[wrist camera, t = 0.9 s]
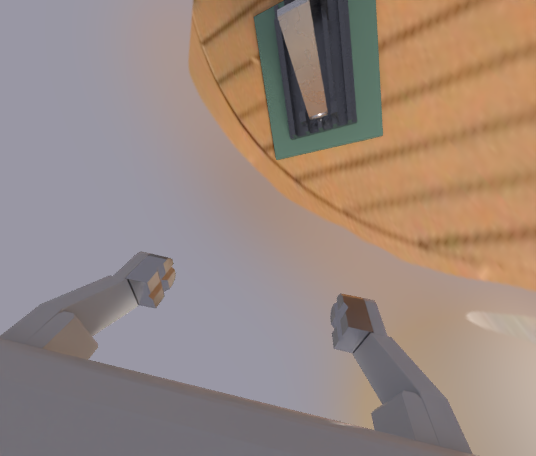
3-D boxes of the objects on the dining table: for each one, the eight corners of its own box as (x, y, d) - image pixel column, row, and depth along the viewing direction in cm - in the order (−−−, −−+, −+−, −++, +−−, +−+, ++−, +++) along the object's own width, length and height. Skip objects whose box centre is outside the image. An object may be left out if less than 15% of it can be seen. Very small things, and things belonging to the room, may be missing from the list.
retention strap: (327, 110, 33) (328, 116, 33) (309, 115, 34) (310, 121, 34) (308, -9, 18) (308, 2, 18) (277, 8, 19) (277, 18, 19)
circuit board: (381, 136, 36) (382, 135, 35) (277, 160, 43) (276, 159, 42) (372, -42, 31) (373, -48, 30) (255, 20, 38) (253, 16, 37)
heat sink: (356, 123, 36) (359, 113, 30) (292, 140, 40) (283, 134, 34) (346, -10, 32) (347, -52, 26) (276, 25, 36) (263, -4, 30)
